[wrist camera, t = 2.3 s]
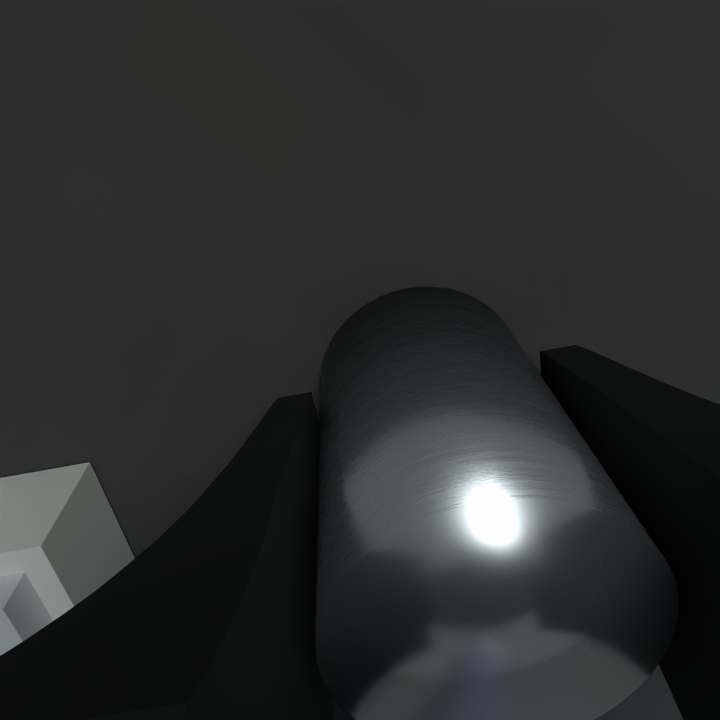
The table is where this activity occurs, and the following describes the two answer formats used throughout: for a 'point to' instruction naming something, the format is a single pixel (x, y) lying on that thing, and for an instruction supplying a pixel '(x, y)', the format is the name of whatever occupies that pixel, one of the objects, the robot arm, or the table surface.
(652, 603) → the cylinder
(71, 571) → the grey flat ridged box
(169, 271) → the table surface
